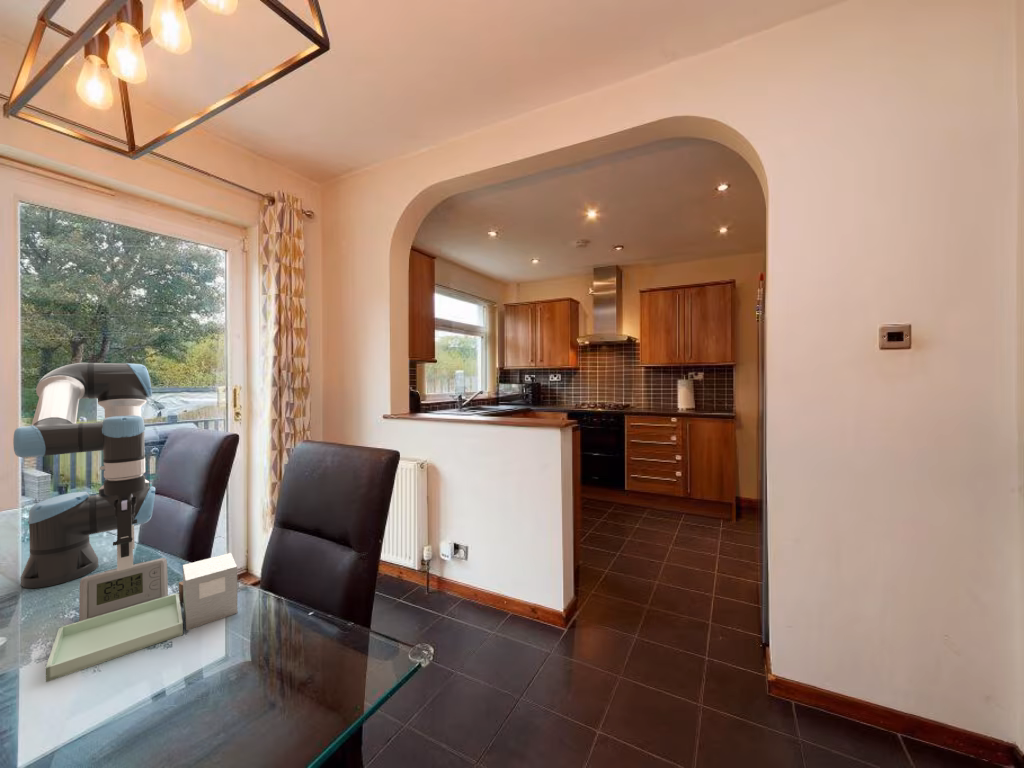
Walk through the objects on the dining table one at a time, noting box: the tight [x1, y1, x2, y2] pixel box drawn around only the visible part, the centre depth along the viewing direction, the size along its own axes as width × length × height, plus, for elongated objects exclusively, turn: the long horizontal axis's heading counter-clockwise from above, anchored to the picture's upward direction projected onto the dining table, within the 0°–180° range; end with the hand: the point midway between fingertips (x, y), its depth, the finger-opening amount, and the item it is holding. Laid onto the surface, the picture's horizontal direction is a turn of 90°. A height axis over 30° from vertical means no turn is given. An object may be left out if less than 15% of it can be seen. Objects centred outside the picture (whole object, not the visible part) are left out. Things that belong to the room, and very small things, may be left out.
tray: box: [44, 592, 184, 683], centre depth 89 cm, size 17×21×3 cm
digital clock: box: [78, 557, 169, 622], centre depth 100 cm, size 16×9×11 cm, turn 123°
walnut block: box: [178, 580, 183, 604], centre depth 104 cm, size 5×5×5 cm
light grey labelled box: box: [182, 552, 239, 631], centre depth 99 cm, size 10×10×12 cm
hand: (126, 559), depth 99 cm, fingers open, 13 cm apart
